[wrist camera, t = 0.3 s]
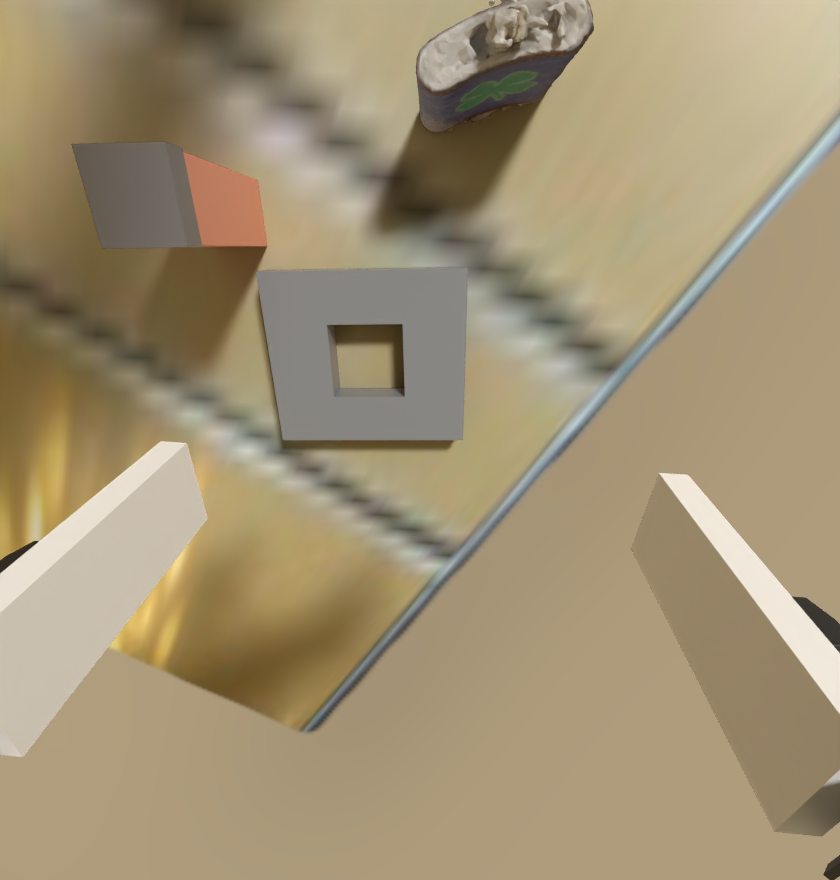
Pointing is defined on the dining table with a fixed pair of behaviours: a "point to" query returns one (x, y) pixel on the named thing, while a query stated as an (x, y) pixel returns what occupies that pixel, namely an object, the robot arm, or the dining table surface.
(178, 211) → the plug
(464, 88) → the flask
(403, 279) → the socket plate
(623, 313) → the dining table surface
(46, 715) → the robot arm
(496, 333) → the dining table surface
